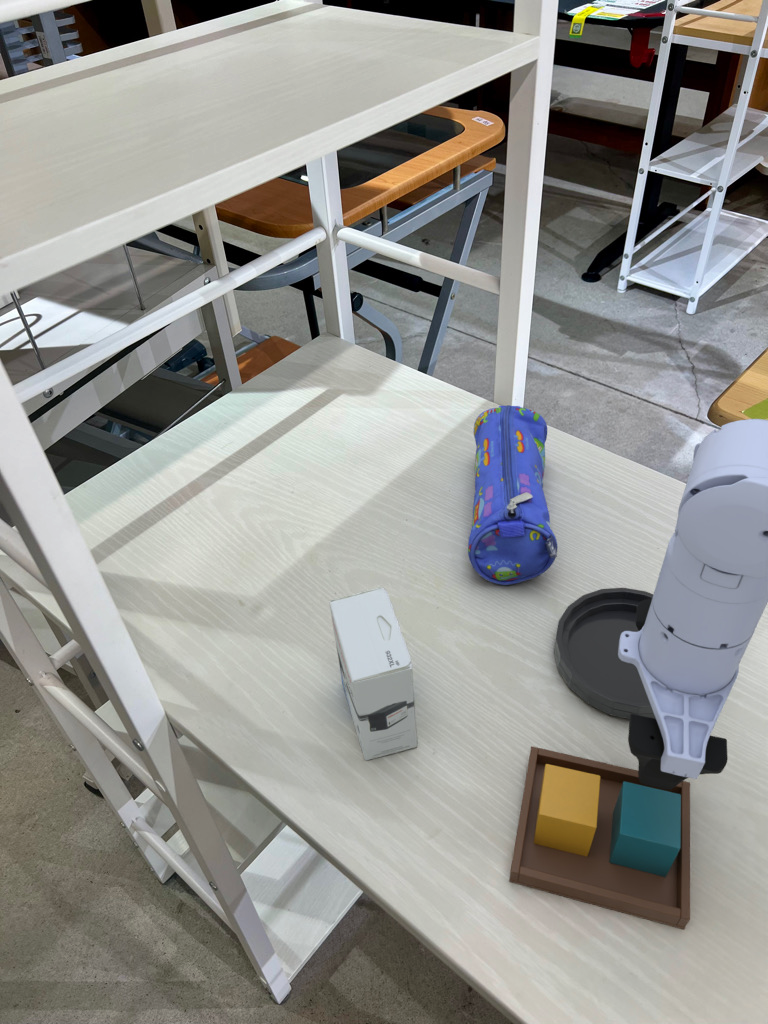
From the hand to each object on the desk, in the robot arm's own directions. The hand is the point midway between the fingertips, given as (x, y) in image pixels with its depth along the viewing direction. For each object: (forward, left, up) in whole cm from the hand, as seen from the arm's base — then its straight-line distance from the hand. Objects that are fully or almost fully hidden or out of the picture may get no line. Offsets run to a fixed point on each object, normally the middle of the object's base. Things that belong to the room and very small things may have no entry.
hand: (657, 732), depth 53 cm
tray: (+2, +4, -9) cm, 10 cm away
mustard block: (+5, +4, -9) cm, 11 cm away
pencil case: (+15, -29, -10) cm, 34 cm away
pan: (+1, -13, -9) cm, 16 cm away
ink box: (+22, -2, -10) cm, 24 cm away
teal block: (0, +4, -9) cm, 10 cm away
